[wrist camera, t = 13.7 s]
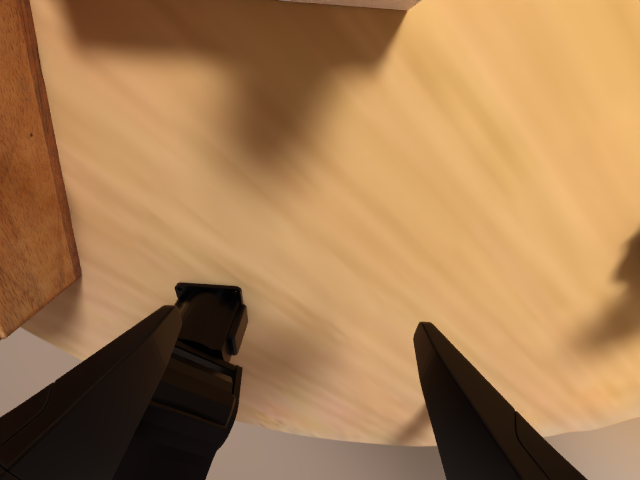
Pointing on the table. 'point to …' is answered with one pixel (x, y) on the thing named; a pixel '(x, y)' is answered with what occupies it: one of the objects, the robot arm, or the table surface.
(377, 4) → the white board
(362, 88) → the table surface
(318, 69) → the table surface
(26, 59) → the wooden box
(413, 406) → the table surface
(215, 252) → the table surface
